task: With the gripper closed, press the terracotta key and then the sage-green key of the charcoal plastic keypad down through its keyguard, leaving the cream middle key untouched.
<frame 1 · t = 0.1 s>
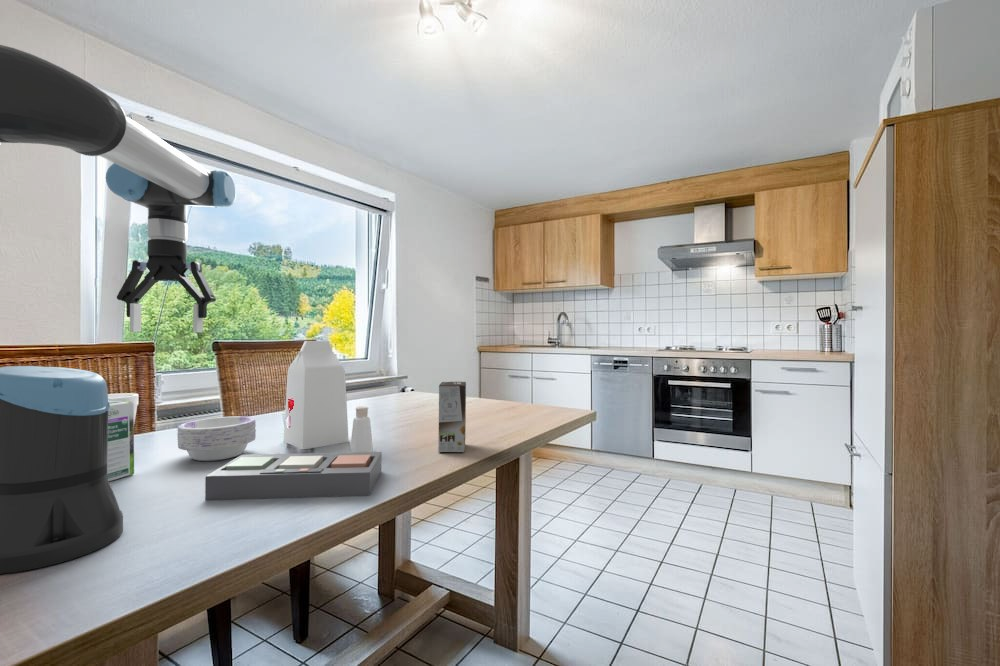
hand: (167, 332, 109), 28 cm above the table, fingers open, 13 cm apart
cream key: (301, 466, 87), point 3 cm above the table, slide at 0.0 cm
paper bowls: (217, 457, 106), on the table
syrup box: (107, 479, 90), on the table
foam cup: (112, 452, 110), on the table
milk: (316, 442, 121), on the table
coffee box: (452, 449, 115), on the table
terracotta key: (351, 465, 88), point 3 cm above the table, slide at 0.0 cm
pepper shaker: (361, 455, 109), on the table
keypad: (301, 484, 87), on the table
sage key: (251, 467, 86), point 3 cm above the table, slide at 0.0 cm
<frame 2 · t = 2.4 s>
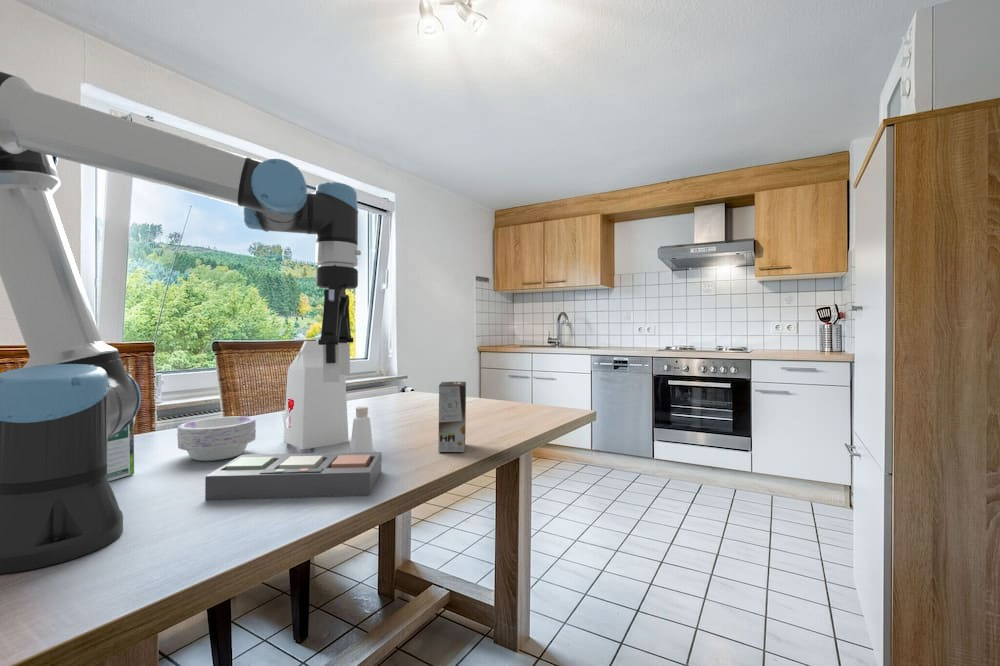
hand: (337, 378, 90), 20 cm above the table, fingers open, 13 cm apart
nothing on the table moved.
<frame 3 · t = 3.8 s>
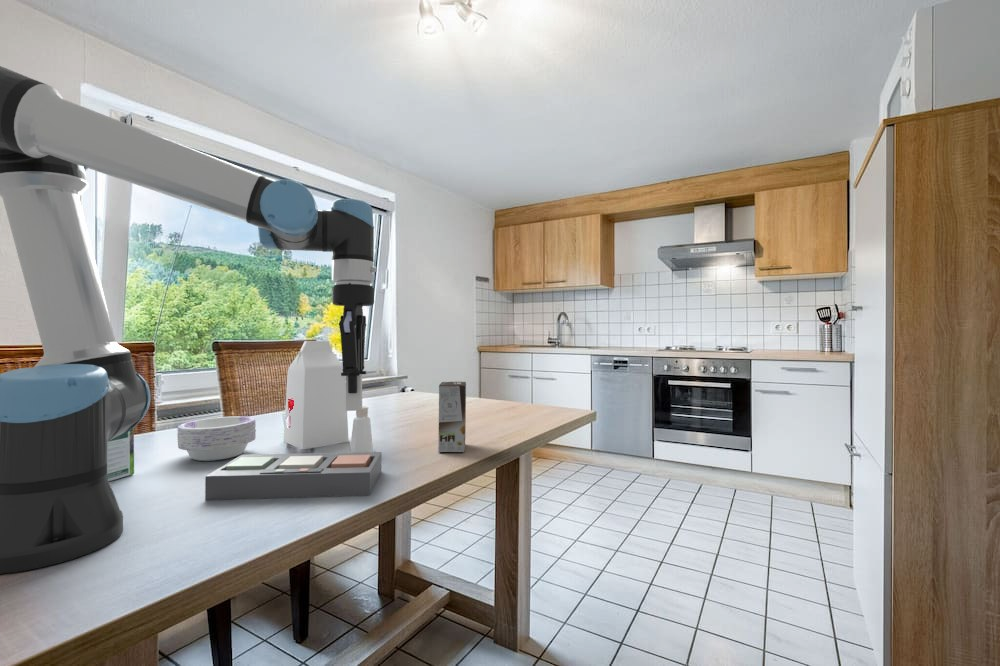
hand: (354, 409, 88), 14 cm above the table, fingers closed
nothing on the table moved.
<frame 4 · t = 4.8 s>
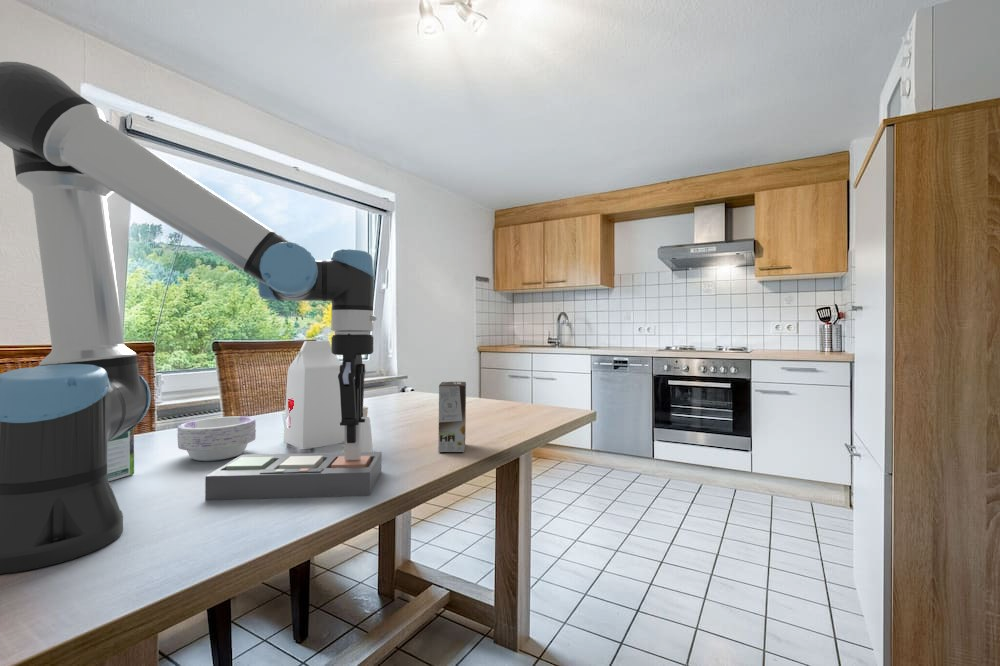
hand: (352, 458, 88), 5 cm above the table, fingers closed
terracotta key: (351, 466, 88), point 3 cm above the table, slide at 0.2 cm, touching gripper
everything else where it was.
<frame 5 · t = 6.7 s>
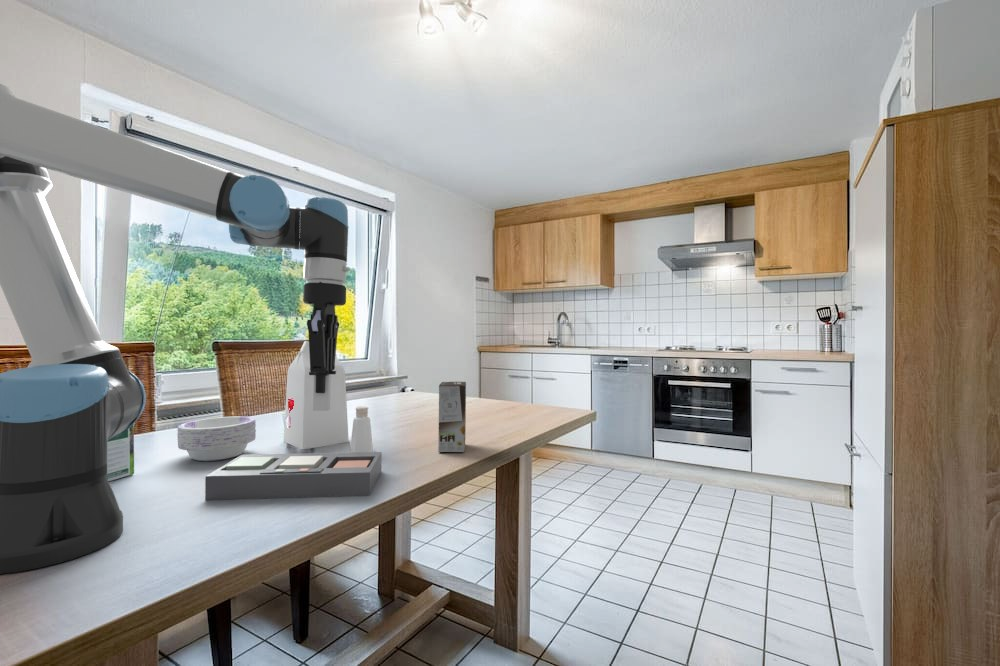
hand: (321, 409, 87), 14 cm above the table, fingers closed
terracotta key: (351, 470, 88), point 2 cm above the table, slide at 1.0 cm
everything else where it was.
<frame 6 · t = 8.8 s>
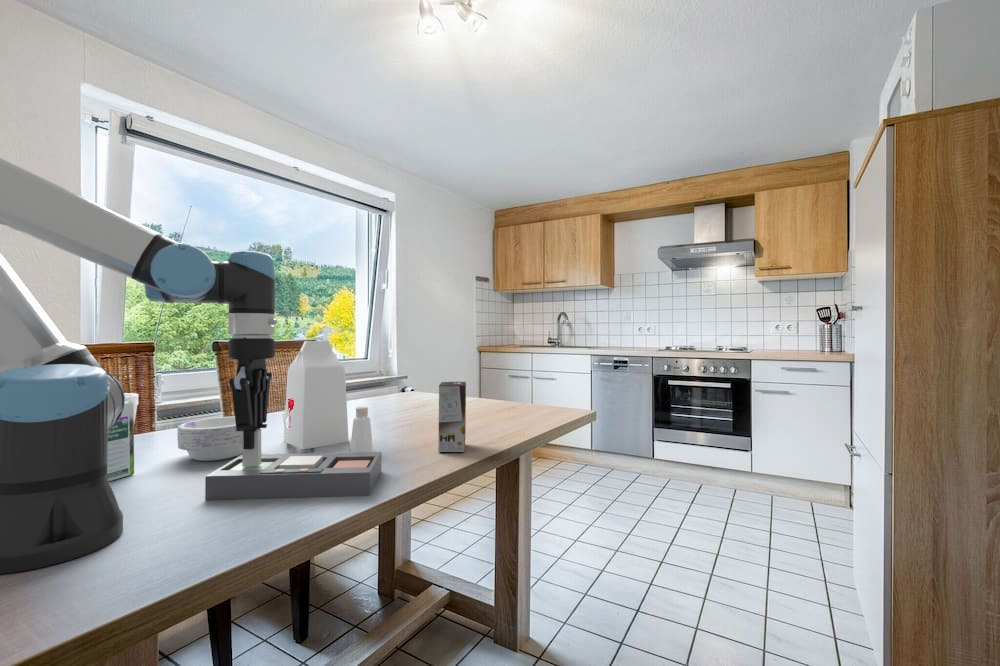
hand: (251, 465, 86), 4 cm above the table, fingers closed
sage key: (251, 472, 86), point 2 cm above the table, slide at 1.0 cm, touching gripper
everything else where it was.
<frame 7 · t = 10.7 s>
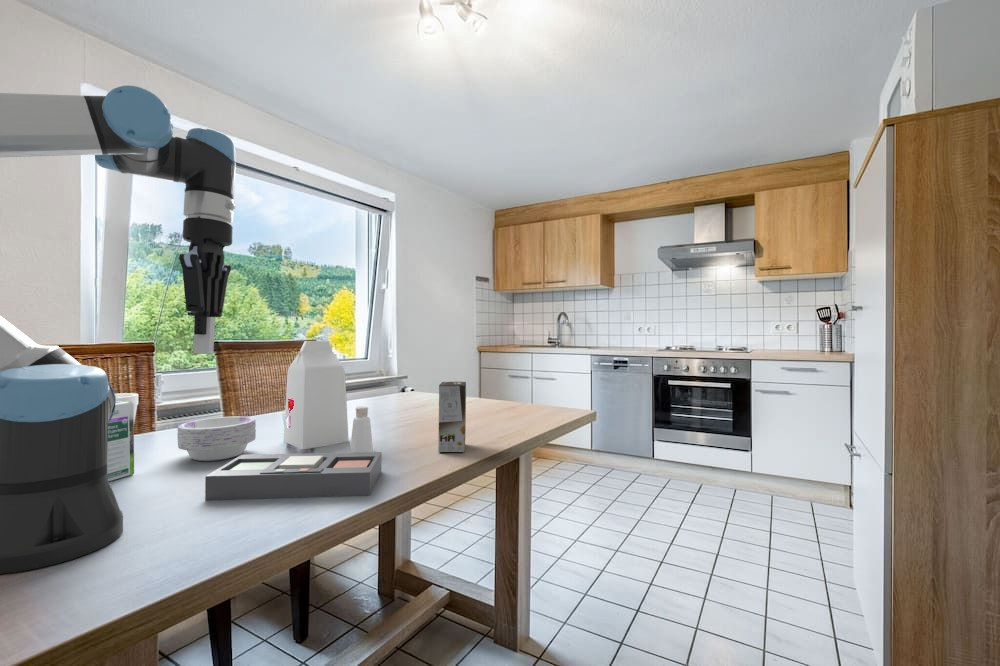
hand: (203, 353, 83), 24 cm above the table, fingers closed
sage key: (251, 472, 86), point 2 cm above the table, slide at 1.0 cm
everything else where it was.
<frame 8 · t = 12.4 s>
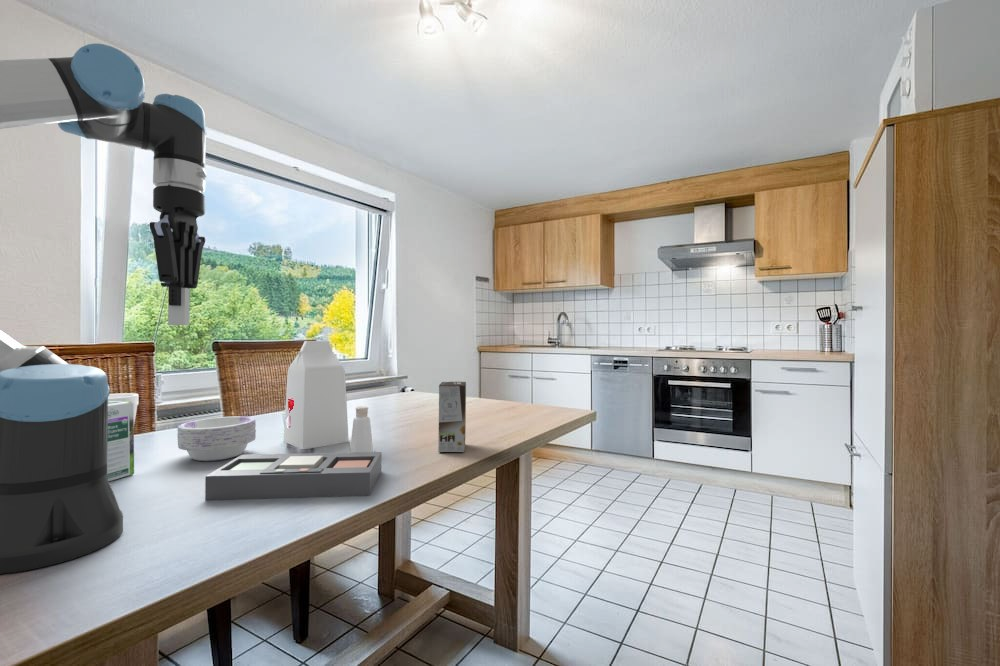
hand: (178, 325, 82), 29 cm above the table, fingers closed
nothing on the table moved.
at the end: terracotta key slide at 1.0 cm; sage key slide at 1.0 cm; cream key slide at 0.0 cm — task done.
